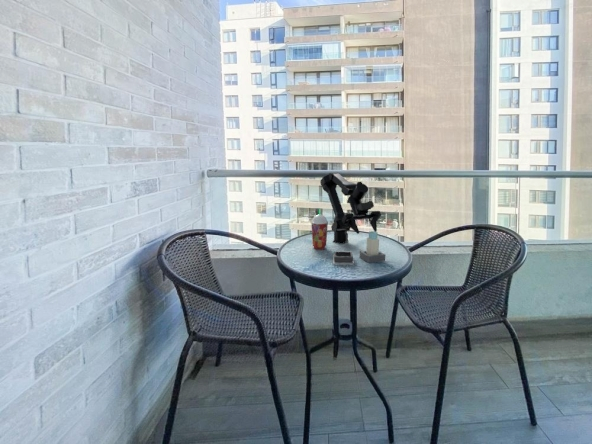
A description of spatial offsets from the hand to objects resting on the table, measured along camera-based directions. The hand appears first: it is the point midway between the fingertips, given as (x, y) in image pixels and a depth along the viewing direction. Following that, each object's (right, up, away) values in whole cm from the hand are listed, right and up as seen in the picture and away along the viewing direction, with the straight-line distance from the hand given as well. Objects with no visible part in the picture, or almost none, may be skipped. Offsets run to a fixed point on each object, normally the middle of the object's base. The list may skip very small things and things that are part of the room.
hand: (367, 232), depth 190 cm
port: (-12, -13, -5) cm, 18 cm away
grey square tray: (+2, -12, -2) cm, 13 cm away
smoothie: (-21, -9, +17) cm, 28 cm away
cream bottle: (+2, -12, -2) cm, 13 cm away
